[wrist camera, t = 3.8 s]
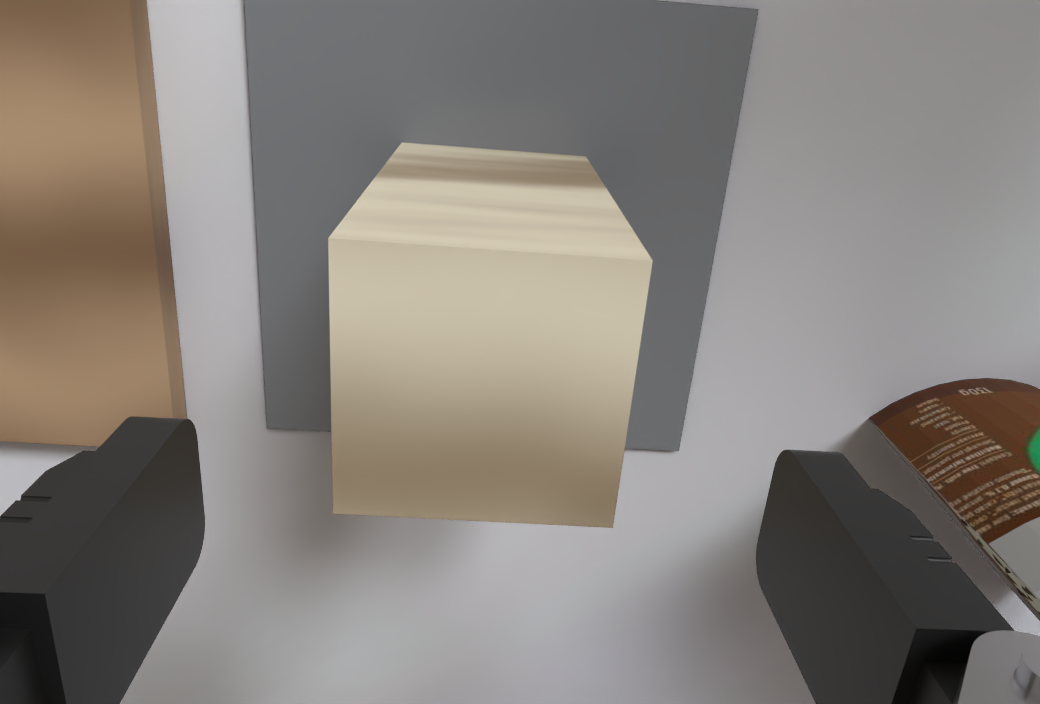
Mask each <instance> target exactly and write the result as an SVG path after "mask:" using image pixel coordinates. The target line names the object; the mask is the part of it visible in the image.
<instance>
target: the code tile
mask: <svg viewBox="0 0 1040 704" xmlns="http://www.w3.org/2000/svg"><path fill="white" fill-rule="evenodd" d="M244 6H245V25H246V44H247V63H248V82H249V101H250V119H251V138H252V157H253V176H254V195H255V214H256V232H257V251H258V270H259V289H260V308H261V327H262V346H263V364H264V383H265V402H266V421H267V428H275V429H293V430H310V431H328V432H331V375H330V315H329V256H328V238H329V237H330V235H331V234H332V233H333V231H334V230H335V229H336V227H337V226H338V225H339V224H340V222H341V221H342V220H343V218H344V217H345V216H346V214H347V213H348V212H349V210H350V209H351V208H352V207H353V205H354V204H355V203H356V201H357V200H358V199H359V197H360V196H361V195H362V194H363V192H364V191H365V190H366V188H367V187H368V186H369V184H370V183H371V182H372V181H373V179H374V178H375V177H376V175H377V174H378V173H379V171H380V170H381V169H382V168H383V166H384V165H385V164H386V162H387V161H388V160H389V158H390V157H391V156H392V155H393V153H394V152H395V151H396V149H397V148H398V147H399V145H400V144H401V143H402V142H404V143H417V144H430V145H443V146H457V147H470V148H483V149H496V150H509V151H522V152H535V153H548V154H561V155H575V156H586V157H587V159H588V160H589V162H590V163H591V165H592V166H593V168H594V170H595V171H596V173H597V174H598V176H599V177H600V179H601V181H602V182H603V184H604V185H605V187H606V188H607V190H608V191H609V193H610V195H611V196H612V198H613V199H614V201H615V202H616V204H617V206H618V207H619V209H620V210H621V212H622V213H623V215H624V217H625V218H626V220H627V221H628V223H629V224H630V226H631V227H632V229H633V231H634V232H635V234H636V235H637V237H638V238H639V240H640V242H641V243H642V245H643V246H644V248H645V249H646V251H647V253H648V254H649V256H650V257H651V259H652V260H653V262H652V269H651V276H650V282H649V289H648V296H647V302H646V309H645V316H644V322H643V329H642V336H641V342H640V349H639V356H638V362H637V369H636V376H635V382H634V389H633V396H632V403H631V409H630V416H629V423H628V429H627V436H626V443H625V448H633V449H651V450H669V451H679V447H680V441H681V436H682V430H683V425H684V419H685V413H686V408H687V402H688V397H689V391H690V386H691V380H692V375H693V369H694V364H695V358H696V353H697V347H698V342H699V336H700V330H701V325H702V319H703V314H704V308H705V303H706V297H707V292H708V286H709V281H710V275H711V270H712V264H713V258H714V253H715V247H716V242H717V236H718V231H719V225H720V220H721V214H722V209H723V203H724V198H725V192H726V186H727V181H728V175H729V170H730V164H731V159H732V153H733V148H734V142H735V137H736V131H737V126H738V120H739V115H740V109H741V103H742V98H743V92H744V87H745V81H746V76H747V70H748V65H749V59H750V54H751V48H752V43H753V37H754V31H755V26H756V20H757V15H758V9H747V8H736V7H725V6H713V5H702V4H690V3H679V2H667V1H656V0H244Z"/></svg>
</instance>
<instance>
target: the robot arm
mask: <svg viewBox="0 0 1040 704" xmlns="http://www.w3.org/2000/svg"><path fill="white" fill-rule="evenodd" d="M204 530H205V515H204V505H203V494H202V484H201V473H200V462H199V452H198V441H197V434H196V429H195V426H194V424H193V423H192V421H191V420H189V419H178V418H158V417H138V416H131V417H128V418H127V419H126V420H125V421H124V422H123V423H122V424H121V425H120V426H119V427H118V428H117V429H116V430H115V431H114V432H113V433H112V434H111V435H110V436H109V437H108V439H107V440H106V441H105V442H104V443H103V444H102V445H101V446H100V447H99V448H98V449H97V450H96V451H82V452H81V453H79V454H77V455H75V456H73V457H71V458H69V459H67V460H66V461H64V462H62V463H60V464H58V465H56V466H54V467H52V468H51V469H49V470H47V471H46V472H44V473H43V474H42V475H41V476H40V477H39V478H38V479H37V480H36V481H35V482H34V483H33V484H32V485H31V486H30V487H29V488H28V489H27V490H26V491H25V492H24V493H23V494H22V495H21V500H20V501H15V502H14V503H13V504H12V505H11V506H10V507H9V508H8V509H7V510H6V511H5V512H4V513H3V514H2V515H1V516H0V704H120V702H121V700H122V698H123V696H124V695H125V693H126V691H127V689H128V687H129V686H130V684H131V682H132V680H133V678H134V676H135V675H136V673H137V671H138V669H139V667H140V666H141V664H142V662H143V660H144V658H145V657H146V655H147V653H148V651H149V649H150V648H151V646H152V644H153V642H154V640H155V639H156V637H157V635H158V633H159V631H160V630H161V628H162V626H163V624H164V622H165V621H166V619H167V617H168V615H169V613H170V611H171V610H172V608H173V606H174V604H175V602H176V601H177V599H178V597H179V595H180V593H181V592H182V590H183V588H184V586H185V584H186V583H187V581H188V579H189V577H190V575H191V574H192V572H193V570H194V568H195V566H196V564H197V562H198V559H199V556H200V553H201V549H202V545H203V539H204ZM951 559H952V558H951V557H950V555H949V554H948V553H947V552H946V551H945V550H944V548H943V547H942V546H941V545H940V544H939V543H938V542H934V541H933V536H932V535H931V533H930V532H929V531H928V530H927V529H926V528H925V527H924V525H923V524H922V523H921V522H920V521H919V520H918V518H917V517H916V516H915V515H914V514H913V513H912V511H910V510H909V509H907V508H906V507H904V506H903V505H901V504H900V503H898V502H897V501H895V500H894V499H892V498H891V497H889V496H888V495H886V494H885V493H883V492H882V491H880V490H879V489H871V488H870V487H869V486H868V485H867V483H866V482H865V481H864V480H863V478H862V477H861V476H860V475H859V474H858V472H857V471H856V470H855V469H854V467H853V466H852V465H851V464H850V463H849V461H848V460H847V459H846V458H845V457H844V456H843V455H842V454H841V453H838V452H823V451H803V450H784V451H782V452H781V453H780V455H779V456H778V458H777V461H776V463H775V467H774V471H773V476H772V480H771V484H770V489H769V493H768V498H767V502H766V507H765V511H764V516H763V520H762V524H761V529H760V533H759V538H758V543H757V550H756V565H757V574H758V579H759V583H760V586H761V589H762V591H763V593H764V596H765V598H766V600H767V602H768V604H769V606H770V608H771V610H772V612H773V614H774V617H775V619H776V621H777V623H778V625H779V627H780V629H781V631H782V633H783V635H784V638H785V640H786V642H787V644H788V646H789V648H790V650H791V652H792V654H793V656H794V658H795V661H796V663H797V665H798V667H799V669H800V671H801V673H802V675H803V677H804V679H805V682H806V684H807V686H808V688H809V690H810V692H811V694H812V696H813V698H814V700H815V703H816V704H1040V636H1037V635H1033V634H1029V633H1024V632H1018V631H1014V630H1013V628H1012V627H1011V626H1010V625H1009V624H1008V623H1007V621H1006V620H1005V619H1004V618H1003V617H1002V616H1001V614H1000V613H999V612H998V611H997V610H996V609H995V608H994V606H993V605H992V604H991V603H990V602H989V601H988V599H987V598H986V597H985V596H984V595H983V594H982V592H981V591H980V590H979V589H978V588H977V587H976V586H975V584H974V583H973V582H972V581H971V580H970V579H969V577H968V576H967V575H966V574H965V573H964V572H963V570H962V569H961V568H960V567H959V566H958V565H957V564H956V563H952V561H951Z"/></svg>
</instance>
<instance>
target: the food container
mask: <svg viewBox="0 0 1040 704" xmlns="http://www.w3.org/2000/svg"><path fill="white" fill-rule="evenodd" d="M869 419H870V421H871V422H872V423H873V424H874V425H875V427H876V428H877V429H878V430H879V431H880V433H881V434H882V435H883V436H884V437H885V439H886V440H887V441H888V442H889V443H890V445H891V446H892V447H893V448H894V449H895V451H896V452H897V453H898V454H899V455H900V457H901V458H902V459H903V460H904V461H905V462H906V464H907V465H908V466H909V467H910V468H911V470H912V471H913V472H914V473H915V474H916V476H917V477H918V478H919V479H920V480H921V482H922V483H923V484H924V485H925V486H926V488H927V489H928V490H929V491H930V492H931V494H932V495H933V496H934V497H935V498H936V500H937V501H938V502H939V503H940V504H941V506H942V507H943V508H944V509H945V510H946V512H947V513H948V514H949V515H950V516H951V518H952V519H953V520H954V521H955V522H956V524H957V525H958V526H959V527H960V528H961V529H962V531H963V532H964V533H965V534H966V535H967V537H968V538H969V539H970V540H971V541H972V543H973V544H974V545H975V546H976V547H977V549H978V550H979V551H980V552H981V553H982V555H983V556H984V557H985V558H986V559H987V561H988V562H989V563H990V564H991V565H992V567H993V568H994V569H995V570H996V571H997V573H998V574H999V575H1000V576H1001V577H1002V579H1003V580H1004V581H1005V582H1006V583H1007V585H1008V586H1009V587H1010V588H1011V589H1012V590H1013V591H1014V593H1015V594H1016V595H1017V596H1018V597H1019V598H1020V599H1021V600H1022V602H1023V603H1024V604H1025V605H1026V606H1027V607H1028V608H1029V609H1030V610H1031V612H1032V613H1033V614H1034V615H1035V616H1036V617H1037V618H1038V619H1039V621H1040V389H1038V388H1036V387H1034V386H1031V385H1028V384H1024V383H1020V382H1016V381H1012V380H1004V379H992V378H981V379H965V380H959V381H954V382H949V383H944V384H939V385H936V386H933V387H930V388H927V389H924V390H921V391H918V392H915V393H913V394H911V395H909V396H907V397H904V398H902V399H900V400H898V401H896V402H894V403H892V404H890V405H889V406H887V407H886V408H884V409H882V410H881V411H879V412H878V413H876V414H875V415H873V416H871V417H870V418H869Z"/></svg>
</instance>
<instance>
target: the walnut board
mask: <svg viewBox="0 0 1040 704" xmlns="http://www.w3.org/2000/svg"><path fill="white" fill-rule="evenodd" d="M131 416H138V417H158V418H178V419H187V413H186V402H185V392H184V382H183V372H182V361H181V351H180V341H179V331H178V320H177V310H176V300H175V289H174V279H173V269H172V259H171V248H170V238H169V228H168V218H167V207H166V197H165V187H164V177H163V166H162V156H161V146H160V135H159V125H158V115H157V105H156V94H155V84H154V74H153V64H152V53H151V43H150V33H149V22H148V12H147V2H146V0H0V441H7V442H25V443H44V444H63V445H81V446H101V445H102V444H103V443H104V442H105V441H106V440H107V439H108V437H109V436H110V435H111V434H112V433H113V432H114V431H115V430H116V429H117V428H118V427H119V426H120V425H121V424H122V423H123V422H124V421H125V420H126V419H127V418H128V417H131Z"/></svg>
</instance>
